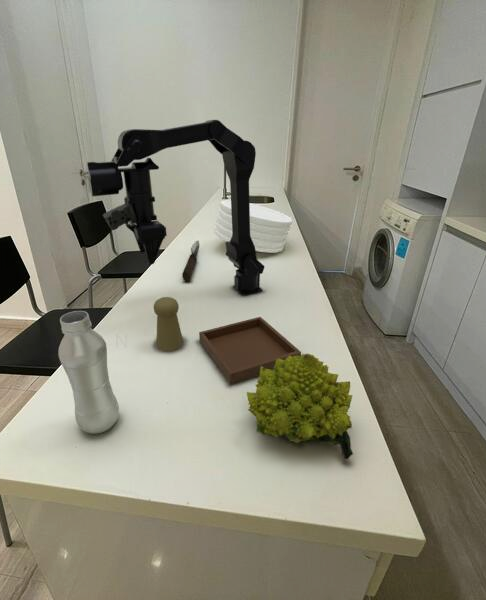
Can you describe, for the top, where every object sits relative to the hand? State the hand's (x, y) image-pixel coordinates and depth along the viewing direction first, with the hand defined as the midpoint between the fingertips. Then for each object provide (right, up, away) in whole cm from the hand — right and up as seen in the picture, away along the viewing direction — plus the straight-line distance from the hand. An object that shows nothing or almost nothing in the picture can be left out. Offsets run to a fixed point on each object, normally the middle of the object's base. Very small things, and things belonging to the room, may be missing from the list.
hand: (147, 257), depth 81 cm
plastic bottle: (-3, -31, -27) cm, 41 cm away
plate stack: (+31, +13, +49) cm, 60 cm away
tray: (+23, -21, -11) cm, 34 cm away
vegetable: (+29, -30, -28) cm, 51 cm away
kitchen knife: (+11, +6, +36) cm, 38 cm away
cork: (+7, -20, -8) cm, 23 cm away
